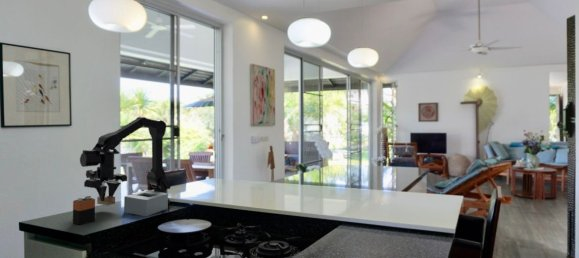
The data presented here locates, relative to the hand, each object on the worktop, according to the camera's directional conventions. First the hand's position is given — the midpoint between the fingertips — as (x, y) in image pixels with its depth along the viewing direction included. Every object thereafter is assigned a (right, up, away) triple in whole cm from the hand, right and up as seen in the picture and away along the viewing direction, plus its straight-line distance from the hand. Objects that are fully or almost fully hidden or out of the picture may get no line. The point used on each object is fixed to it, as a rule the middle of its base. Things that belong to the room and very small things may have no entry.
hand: (106, 200), depth 169 cm
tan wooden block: (0, -2, 0) cm, 2 cm away
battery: (-1, -6, -16) cm, 18 cm away
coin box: (+16, -5, +4) cm, 17 cm away
